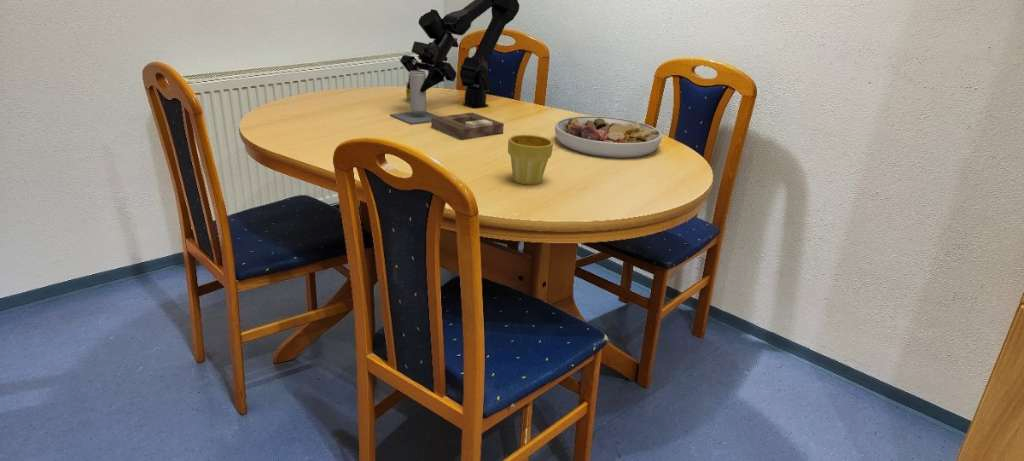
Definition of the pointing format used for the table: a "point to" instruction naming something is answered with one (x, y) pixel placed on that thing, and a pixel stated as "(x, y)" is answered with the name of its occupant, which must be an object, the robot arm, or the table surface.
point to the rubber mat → (414, 117)
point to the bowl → (607, 136)
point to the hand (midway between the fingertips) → (414, 90)
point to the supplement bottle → (407, 91)
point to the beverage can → (417, 91)
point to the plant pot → (529, 157)
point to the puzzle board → (467, 125)
